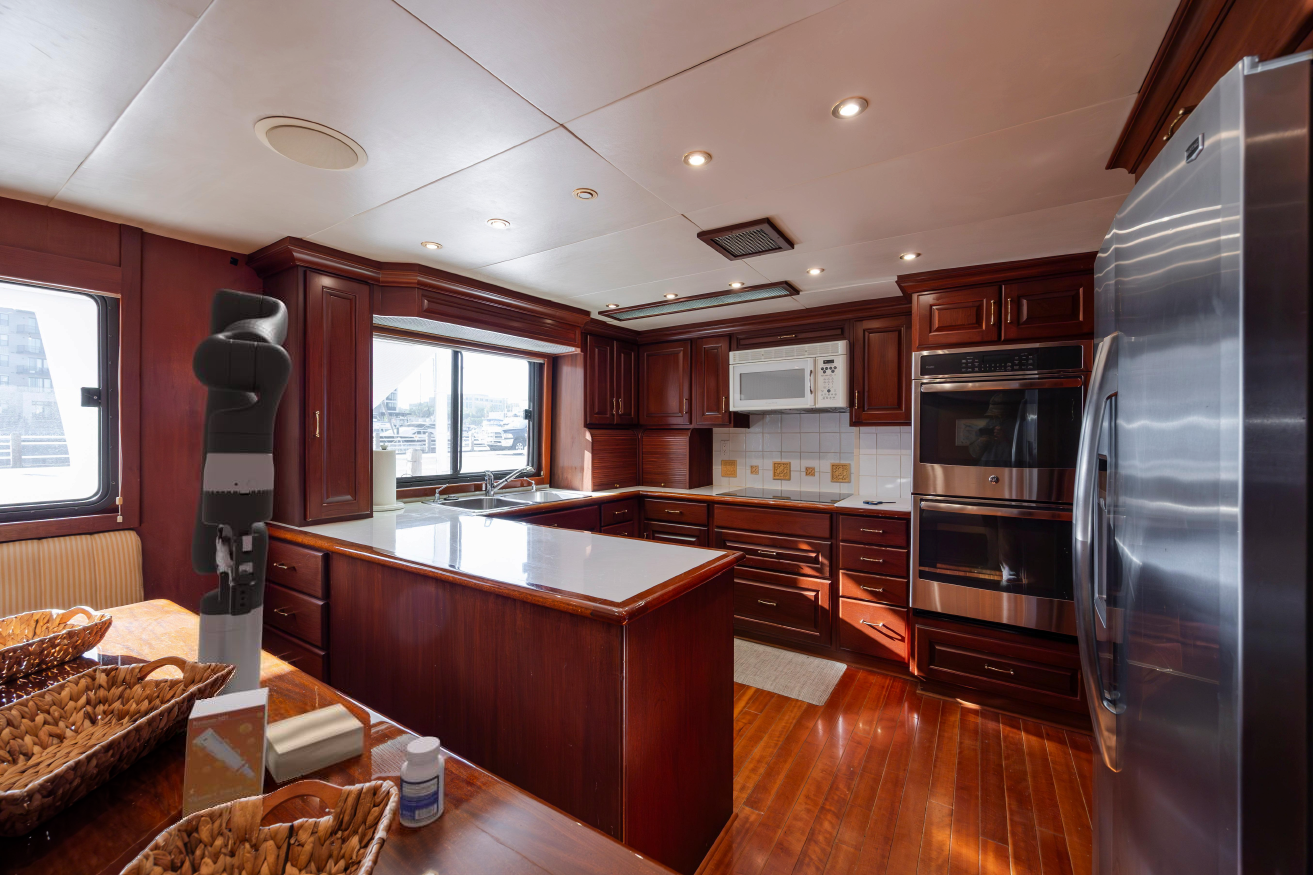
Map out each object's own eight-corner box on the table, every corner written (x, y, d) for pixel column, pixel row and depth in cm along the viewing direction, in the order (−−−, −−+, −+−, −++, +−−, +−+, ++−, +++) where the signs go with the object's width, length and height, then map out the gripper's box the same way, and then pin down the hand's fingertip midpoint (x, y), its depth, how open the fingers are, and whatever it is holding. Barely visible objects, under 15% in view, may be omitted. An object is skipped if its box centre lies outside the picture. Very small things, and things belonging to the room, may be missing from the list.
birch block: (259, 756, 82) (260, 726, 82) (338, 730, 90) (339, 703, 90) (277, 786, 75) (279, 753, 75) (362, 755, 83) (363, 725, 83)
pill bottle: (411, 800, 72) (413, 732, 72) (450, 801, 71) (452, 734, 72) (390, 827, 66) (393, 754, 67) (432, 829, 66) (434, 756, 66)
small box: (181, 825, 66) (186, 718, 67) (190, 798, 71) (194, 698, 72) (262, 803, 71) (266, 702, 71) (265, 778, 76) (269, 685, 76)
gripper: (196, 485, 75) (190, 602, 74) (211, 490, 65) (205, 625, 64) (261, 484, 80) (257, 593, 80) (285, 488, 70) (280, 613, 70)
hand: (234, 607), depth 72 cm, fingers open, 8 cm apart
